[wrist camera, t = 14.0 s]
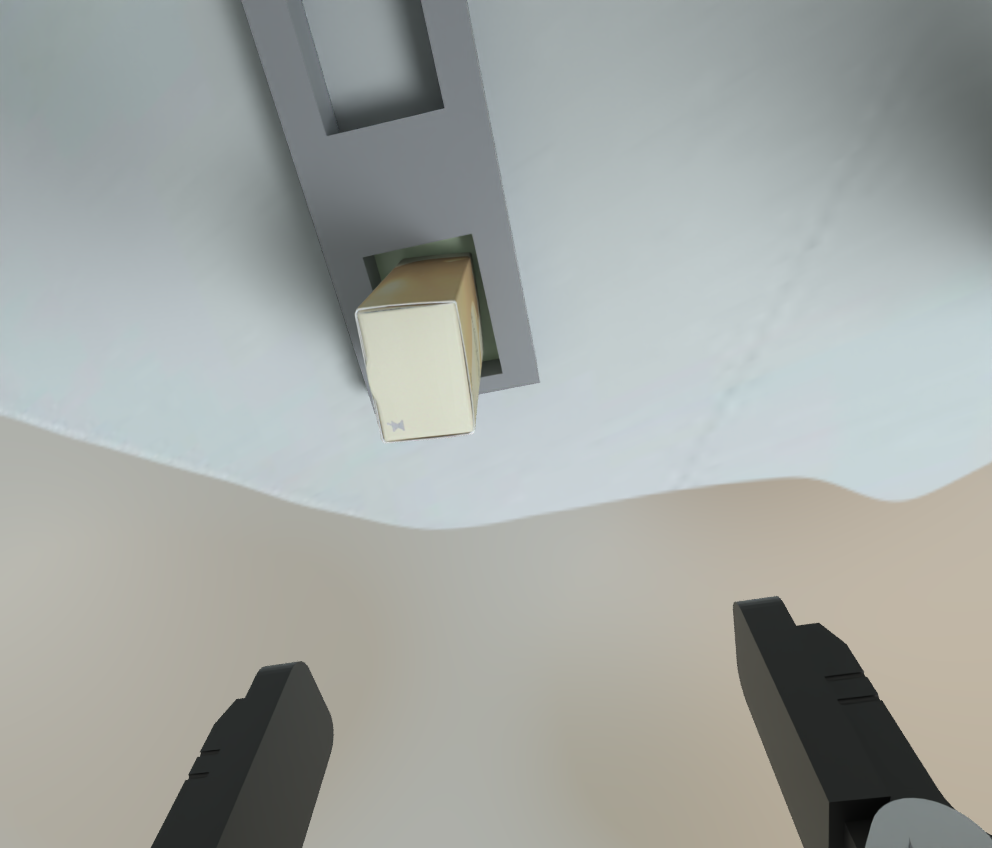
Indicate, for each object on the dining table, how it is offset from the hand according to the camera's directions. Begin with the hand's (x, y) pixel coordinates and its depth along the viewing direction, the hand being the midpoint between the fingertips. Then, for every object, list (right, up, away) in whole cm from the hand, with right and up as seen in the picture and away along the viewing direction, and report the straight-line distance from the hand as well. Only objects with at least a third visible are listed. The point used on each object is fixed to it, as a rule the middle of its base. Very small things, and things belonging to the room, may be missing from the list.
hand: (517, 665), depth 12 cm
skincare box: (-4, +12, +26) cm, 28 cm away
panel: (-5, +18, +23) cm, 29 cm away
